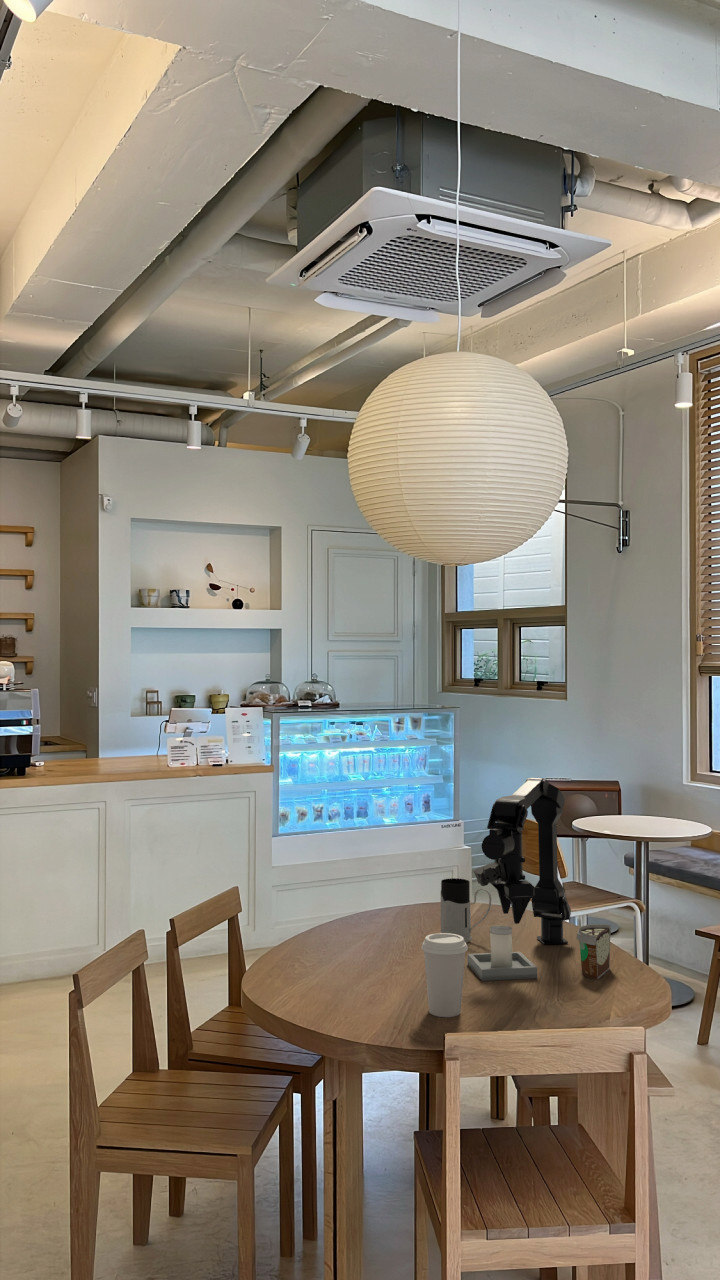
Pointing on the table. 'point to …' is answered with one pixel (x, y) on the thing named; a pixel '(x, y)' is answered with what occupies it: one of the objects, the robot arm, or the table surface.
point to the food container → (594, 949)
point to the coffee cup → (444, 972)
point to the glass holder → (457, 907)
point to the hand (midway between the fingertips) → (511, 918)
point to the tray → (519, 969)
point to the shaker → (501, 946)
